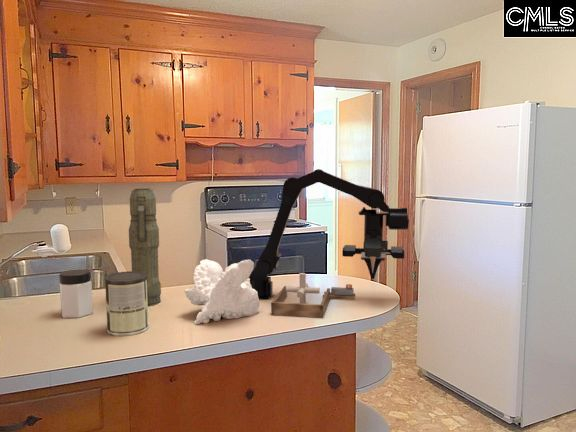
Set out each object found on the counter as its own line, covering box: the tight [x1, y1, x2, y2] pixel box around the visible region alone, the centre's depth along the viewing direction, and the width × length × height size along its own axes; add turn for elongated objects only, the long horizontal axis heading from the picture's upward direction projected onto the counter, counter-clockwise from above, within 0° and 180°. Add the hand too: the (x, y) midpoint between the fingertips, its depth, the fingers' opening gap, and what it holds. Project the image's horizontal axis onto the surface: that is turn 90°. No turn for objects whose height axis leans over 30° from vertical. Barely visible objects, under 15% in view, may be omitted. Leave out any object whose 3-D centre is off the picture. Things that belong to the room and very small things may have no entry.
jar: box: [58, 268, 94, 319], centre depth 134 cm, size 9×8×12 cm
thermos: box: [128, 188, 162, 307], centre depth 144 cm, size 9×12×35 cm
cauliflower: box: [183, 258, 260, 325], centre depth 132 cm, size 19×20×20 cm
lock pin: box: [330, 283, 355, 296], centre depth 150 cm, size 7×2×4 cm, turn 79°
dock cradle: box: [270, 285, 356, 319], centre depth 142 cm, size 22×23×4 cm
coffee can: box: [104, 270, 150, 337], centre depth 121 cm, size 10×10×14 cm
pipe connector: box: [285, 272, 320, 304], centre depth 140 cm, size 10×10×10 cm
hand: (372, 278), depth 148 cm, fingers closed
